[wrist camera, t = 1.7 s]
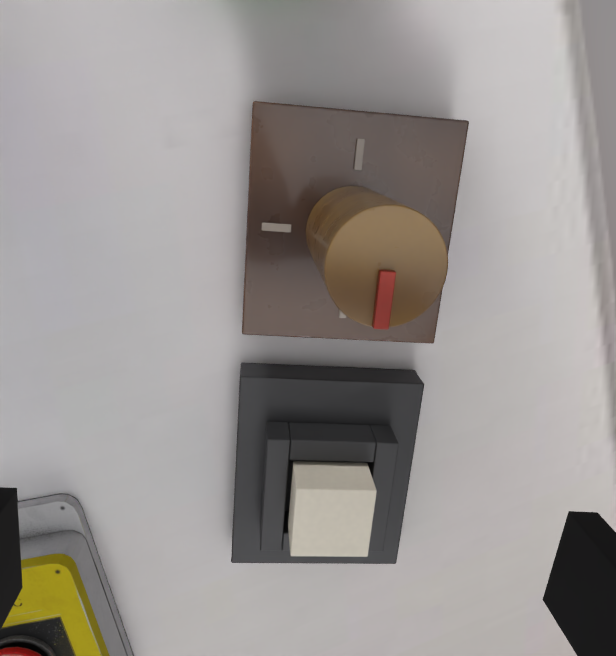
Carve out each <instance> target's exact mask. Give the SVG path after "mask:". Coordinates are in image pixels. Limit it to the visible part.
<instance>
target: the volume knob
mask: <svg viewBox="0 0 616 656" xmlns="http://www.w3.org/2000/svg"><path fill="white" fill-rule="evenodd" d="M306 242H307V246H308V249H309V251H310V254H311V256H312V258H313V260H314V262H315V265H316V267H317V269H318V271H319V273H320V275H321V278H322V280H323V282H324V284H325V286H326V288H327V291H328V293H329V295H330V297H331V299H332V300H333V302H334V303H335V305H336V306H337V307H338V309H339V310H340V311H341V312H342V313H343V314H345V315H346V316H347V317H349V318H350V319H352V320H354V321H356V322H358V323H360V324H363V325H366V326H370V327H373V329H384V330H388V329H389V327H394V326H398V325H402V324H404V323H407V322H409V321H411V320H413V319H415V318H417V317H418V316H420V315H421V314H422V313H424V312H425V311H426V310H427V309H428V308H429V307H430V306H431V305H432V304H433V302H434V301H435V300H436V298H437V297H438V295H439V294H440V292H441V290H442V288H443V285H444V282H445V279H446V275H447V269H448V255H447V249H446V245H445V242H444V239H443V237H442V235H441V233H440V232H439V230H438V229H437V227H436V226H435V225H434V223H433V222H432V221H431V220H430V219H429V218H427V217H426V216H425V215H423V214H422V213H420V212H419V211H417V210H415V209H412V208H410V207H408V206H406V205H404V204H401V203H399V202H397V201H395V200H392V199H390V198H388V197H386V196H384V195H381V194H379V193H377V192H375V191H372V190H370V189H368V188H365V187H360V186H345V187H341V188H337V189H335V190H332V191H331V192H329V193H327V194H326V195H325V196H323V197H322V198H321V199H320V200H319V201H318V202H317V203H316V205H315V206H314V207H313V209H312V211H311V213H310V215H309V217H308V221H307V225H306Z"/></svg>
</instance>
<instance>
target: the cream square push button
mask: <svg viewBox="0 0 616 656" xmlns="http://www.w3.org/2000/svg"><path fill="white" fill-rule="evenodd" d="M376 492H377V490H376V487H375V484H374V481H373V478H372V475H371V472H370V470H369V467H368V464H367V463H350V462H311V461H293V469H292V481H291V493H290V505H289V517H288V532H289V544H290V555H291V556H329V557H367V556H368V550H369V543H370V536H371V529H372V521H373V514H374V507H375V500H376Z"/></svg>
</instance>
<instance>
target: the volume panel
mask: <svg viewBox="0 0 616 656" xmlns="http://www.w3.org/2000/svg"><path fill="white" fill-rule="evenodd" d="M468 124H469V122H468V121H466V120H455V119H444V118H433V117H422V116H411V115H400V114H389V113H378V112H367V111H357V110H346V109H335V108H324V107H313V106H302V105H291V104H280V103H269V102H258V101H254V102H253V107H252V128H251V149H250V171H249V192H248V213H247V235H246V256H245V278H244V299H243V320H242V334H249V335H270V336H290V337H311V338H331V339H352V340H373V341H393V342H414V343H434V338H435V332H436V326H437V320H438V313H439V307H440V301H441V294H442V290H441V292H440V294H439V295H438V297H437V298H436V300H435V301H434V302H433V304H432V305H431V306H430V307H429V308H428V309H427V310H426V311H425V312H424V313H422V314H421V315H420V316H418V317H417V318H415V319H413V320H411V321H409V322H407V323H404V324H402V325H398V326H394V327H389V329H388V330H384V329H373V327H370V326H366V325H363V324H360V323H358V322H356V321H354V320H352V319H350V318H349V317H347V316H346V315H345V314H343V313H342V312H341V311H340V310H339V309H338V307H337V306H336V305H335V303H334V302H333V300H332V299H331V297H330V295H329V293H328V291H327V288H326V286H325V284H324V282H323V280H322V278H321V275H320V273H319V271H318V269H317V267H316V265H315V262H314V260H313V258H312V256H311V254H310V251H309V249H308V246H307V242H306V225H307V221H308V217H309V215H310V213H311V211H312V209H313V207H314V206H315V205H316V203H317V202H318V201H319V200H320V199H321V198H322V197H323V196H325V195H326V194H327V193H329V192H331V191H332V190H335V189H337V188H341V187H345V186H360V187H365V188H368V189H370V190H372V191H375V192H377V193H379V194H381V195H384V196H386V197H388V198H390V199H392V200H395V201H397V202H399V203H401V204H404V205H406V206H408V207H410V208H412V209H415V210H417V211H419V212H420V213H422V214H423V215H425V216H426V217H427V218H429V219H430V220H431V221H432V222H433V223H434V225H435V226H436V227H437V229H438V230H439V232H440V233H441V235H442V237H443V239H444V242H445V245H446V249H447V255H448V250H449V244H450V238H451V231H452V225H453V219H454V213H455V206H456V200H457V194H458V187H459V181H460V175H461V168H462V162H463V156H464V150H465V143H466V137H467V131H468Z"/></svg>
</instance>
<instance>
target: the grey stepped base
mask: <svg viewBox="0 0 616 656" xmlns="http://www.w3.org/2000/svg"><path fill="white" fill-rule="evenodd" d="M423 388H424V383H423V382H422V380H421V379H420V378H419V376H418V375H417V373H416V372H415V371H414V370H395V369H372V368H349V367H325V366H302V365H279V364H256V363H241V370H240V386H239V408H238V429H237V450H236V472H235V493H234V514H233V536H232V557H231V562H232V563H363V564H396V560H397V554H398V547H399V541H400V535H401V528H402V522H403V516H404V509H405V503H406V496H407V490H408V484H409V477H410V471H411V465H412V458H413V452H414V445H415V439H416V433H417V426H418V420H419V414H420V407H421V401H422V394H423ZM293 461H311V462H350V463H367V464H368V467H369V470H370V472H371V475H372V478H373V481H374V484H375V487H376V490H377V492H376V500H375V507H374V514H373V521H372V529H371V536H370V543H369V550H368V556H367V557H329V556H291V555H290V544H289V532H288V517H289V505H290V493H291V481H292V469H293Z"/></svg>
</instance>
